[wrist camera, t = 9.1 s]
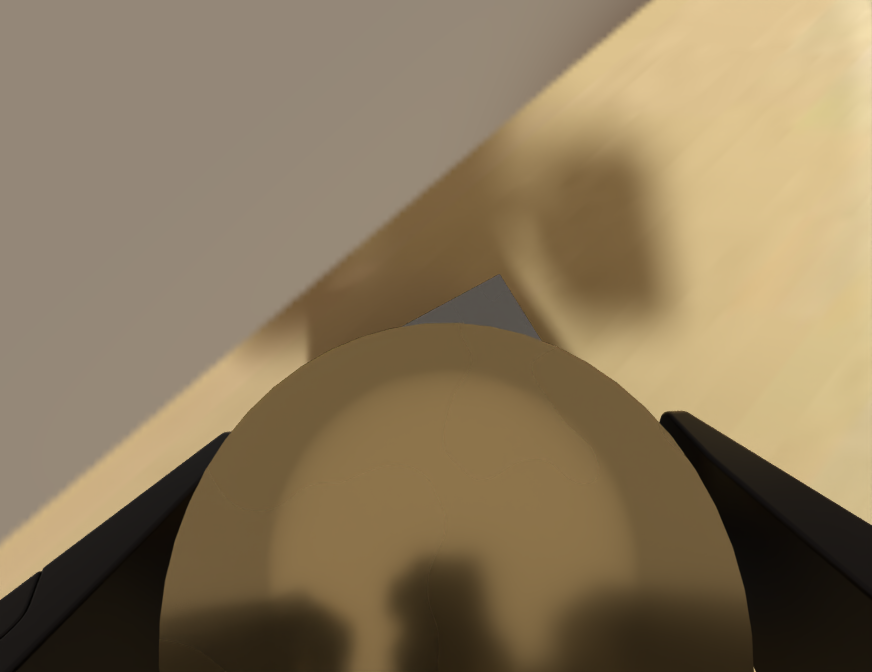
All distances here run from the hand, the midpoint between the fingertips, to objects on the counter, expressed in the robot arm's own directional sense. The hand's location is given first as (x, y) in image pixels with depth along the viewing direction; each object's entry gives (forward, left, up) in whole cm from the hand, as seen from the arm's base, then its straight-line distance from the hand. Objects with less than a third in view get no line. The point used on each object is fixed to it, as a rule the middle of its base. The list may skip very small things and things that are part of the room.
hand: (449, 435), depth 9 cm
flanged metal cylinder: (-1, -1, -8) cm, 8 cm away
